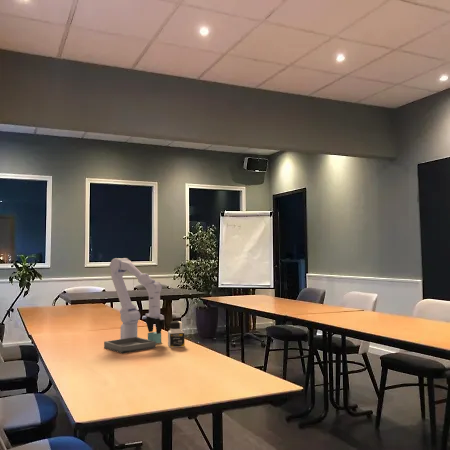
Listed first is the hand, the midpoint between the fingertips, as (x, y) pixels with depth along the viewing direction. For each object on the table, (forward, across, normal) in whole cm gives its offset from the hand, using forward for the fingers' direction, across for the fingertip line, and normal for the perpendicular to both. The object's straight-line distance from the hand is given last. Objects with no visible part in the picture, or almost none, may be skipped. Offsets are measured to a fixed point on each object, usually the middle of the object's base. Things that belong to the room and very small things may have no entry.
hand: (154, 332), depth 237 cm
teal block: (+5, 0, 0) cm, 5 cm away
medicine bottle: (+5, +15, +3) cm, 16 cm away
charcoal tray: (+5, +3, -16) cm, 17 cm away
